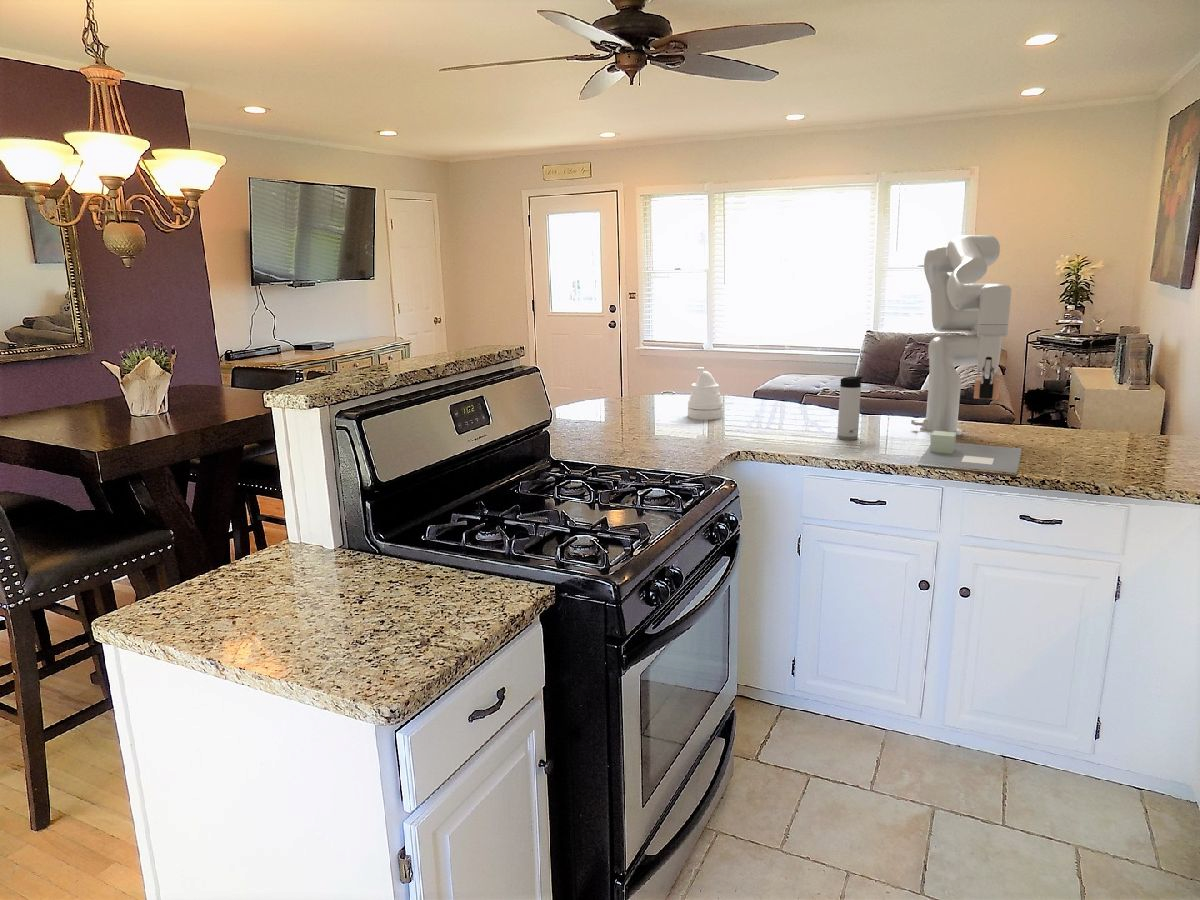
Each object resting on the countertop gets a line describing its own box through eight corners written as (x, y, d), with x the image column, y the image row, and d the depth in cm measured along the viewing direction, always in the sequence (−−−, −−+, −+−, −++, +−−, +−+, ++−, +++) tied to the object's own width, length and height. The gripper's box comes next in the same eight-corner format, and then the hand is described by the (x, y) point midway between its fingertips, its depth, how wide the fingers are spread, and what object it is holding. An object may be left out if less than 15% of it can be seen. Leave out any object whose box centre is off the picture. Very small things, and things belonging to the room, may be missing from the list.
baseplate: (917, 466, 215) (918, 462, 215) (932, 444, 241) (933, 440, 240) (1016, 477, 204) (1016, 472, 203) (1021, 452, 229) (1021, 448, 229)
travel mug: (855, 441, 247) (859, 377, 242) (834, 439, 250) (838, 376, 246) (861, 437, 252) (864, 375, 247) (840, 435, 255) (843, 374, 251)
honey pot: (686, 419, 285) (687, 370, 281) (688, 412, 298) (689, 365, 293) (722, 419, 283) (723, 370, 279) (723, 413, 296) (724, 365, 291)
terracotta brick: (973, 398, 216) (975, 380, 215) (975, 395, 221) (976, 377, 220) (997, 399, 213) (999, 381, 212) (998, 396, 218) (1000, 378, 217)
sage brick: (929, 451, 227) (931, 434, 226) (932, 447, 232) (934, 430, 231) (952, 453, 224) (953, 436, 223) (954, 449, 229) (956, 432, 228)
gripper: (979, 328, 222) (973, 392, 226) (974, 332, 208) (968, 400, 211) (1009, 329, 219) (1002, 393, 223) (1006, 333, 204) (1000, 402, 208)
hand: (986, 396), depth 217 cm, fingers closed on terracotta brick, 5 cm apart
